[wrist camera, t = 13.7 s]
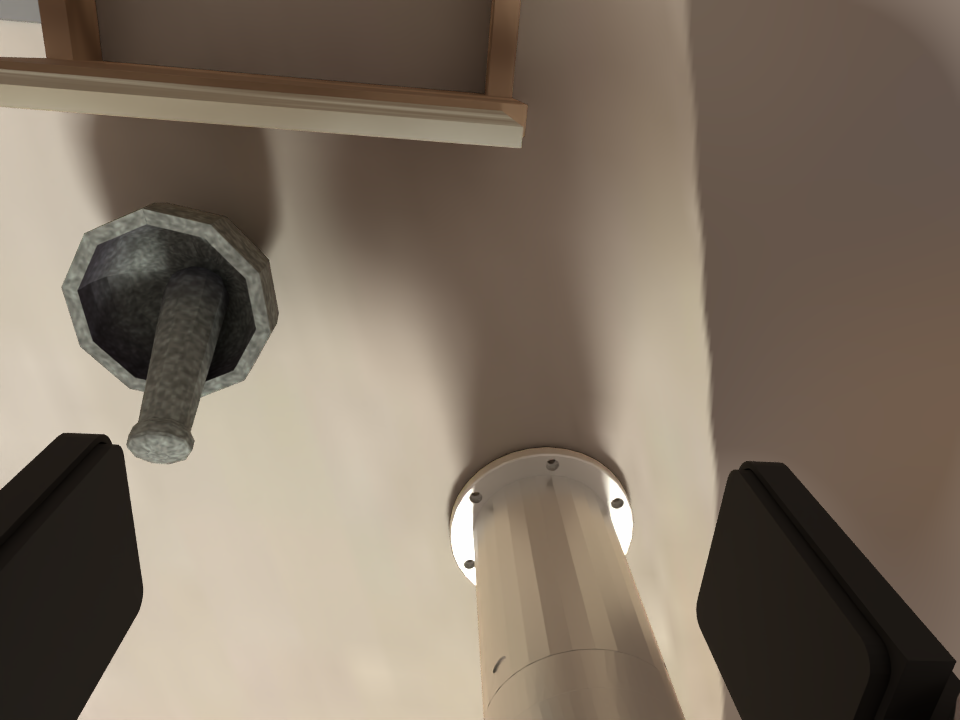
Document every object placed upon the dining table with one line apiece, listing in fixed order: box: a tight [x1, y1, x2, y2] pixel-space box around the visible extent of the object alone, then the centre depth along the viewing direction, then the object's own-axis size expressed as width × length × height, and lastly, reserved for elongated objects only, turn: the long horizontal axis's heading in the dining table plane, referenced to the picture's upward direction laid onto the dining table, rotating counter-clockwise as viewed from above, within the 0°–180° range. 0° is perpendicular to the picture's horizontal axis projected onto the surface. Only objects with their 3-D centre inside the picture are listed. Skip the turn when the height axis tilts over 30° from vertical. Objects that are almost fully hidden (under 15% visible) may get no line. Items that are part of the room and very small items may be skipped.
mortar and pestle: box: [61, 203, 279, 464], centre depth 34 cm, size 11×9×12 cm
